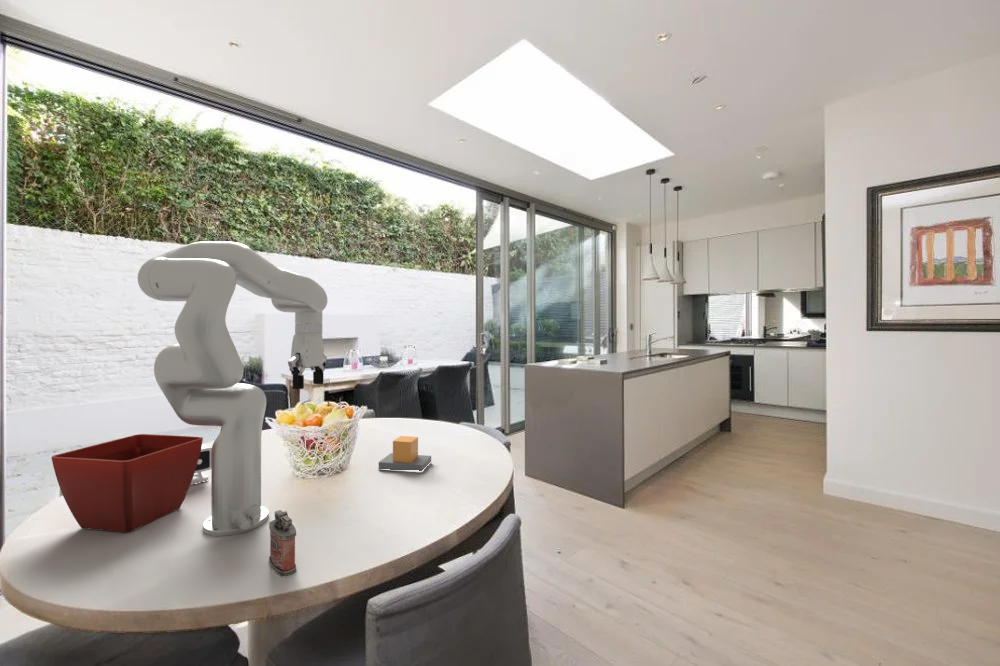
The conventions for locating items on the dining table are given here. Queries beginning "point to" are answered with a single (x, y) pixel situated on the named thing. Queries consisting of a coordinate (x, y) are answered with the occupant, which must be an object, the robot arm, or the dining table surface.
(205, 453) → the security camera
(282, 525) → the lighter
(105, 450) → the plant pot
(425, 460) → the grey platform with peg
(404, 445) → the wooden cube
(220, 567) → the dining table surface
